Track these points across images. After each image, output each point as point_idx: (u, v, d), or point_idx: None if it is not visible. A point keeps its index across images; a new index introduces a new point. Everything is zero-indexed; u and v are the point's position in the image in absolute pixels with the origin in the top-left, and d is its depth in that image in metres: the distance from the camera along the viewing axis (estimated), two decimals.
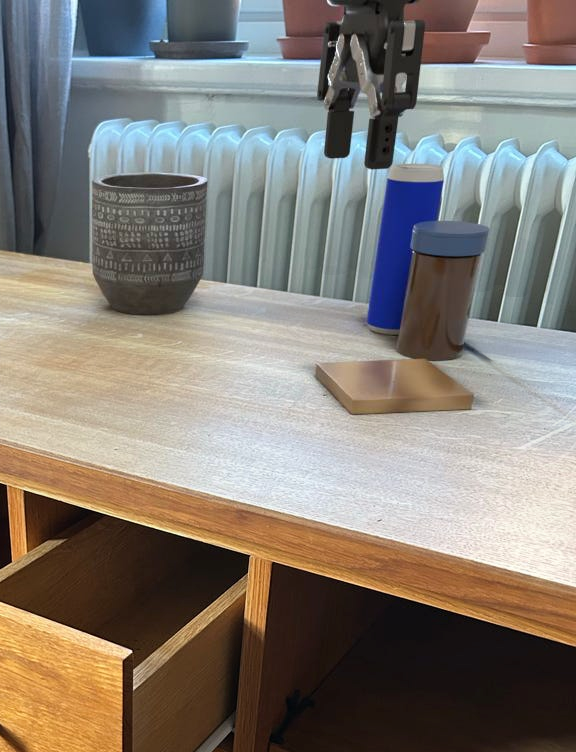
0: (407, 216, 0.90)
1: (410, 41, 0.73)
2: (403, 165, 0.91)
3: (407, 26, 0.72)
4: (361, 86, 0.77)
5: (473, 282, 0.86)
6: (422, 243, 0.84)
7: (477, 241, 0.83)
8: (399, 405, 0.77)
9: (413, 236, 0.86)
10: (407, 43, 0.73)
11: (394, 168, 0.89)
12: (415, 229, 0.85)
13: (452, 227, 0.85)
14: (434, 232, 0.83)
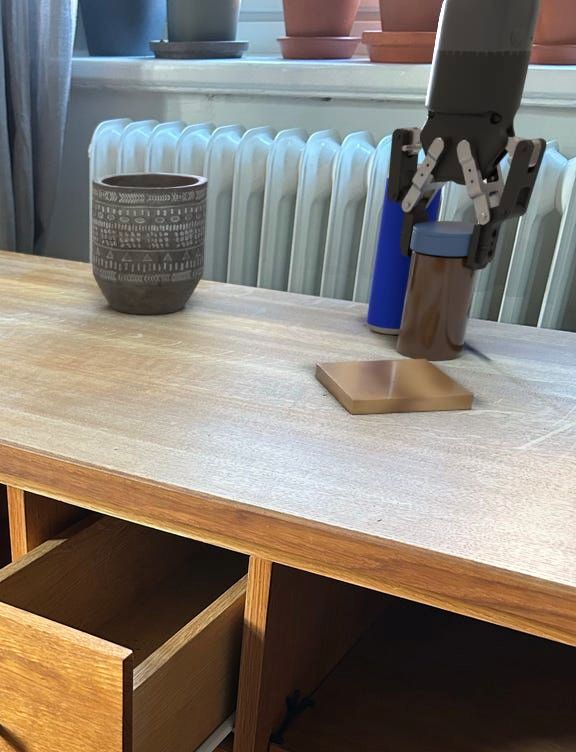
0: None
1: (535, 159, 0.77)
2: None
3: (536, 146, 0.76)
4: (470, 192, 0.81)
5: (473, 282, 0.86)
6: (421, 243, 0.84)
7: None
8: (399, 405, 0.77)
9: (413, 236, 0.86)
10: (532, 161, 0.77)
11: None
12: (414, 229, 0.85)
13: (452, 227, 0.85)
14: (433, 232, 0.83)
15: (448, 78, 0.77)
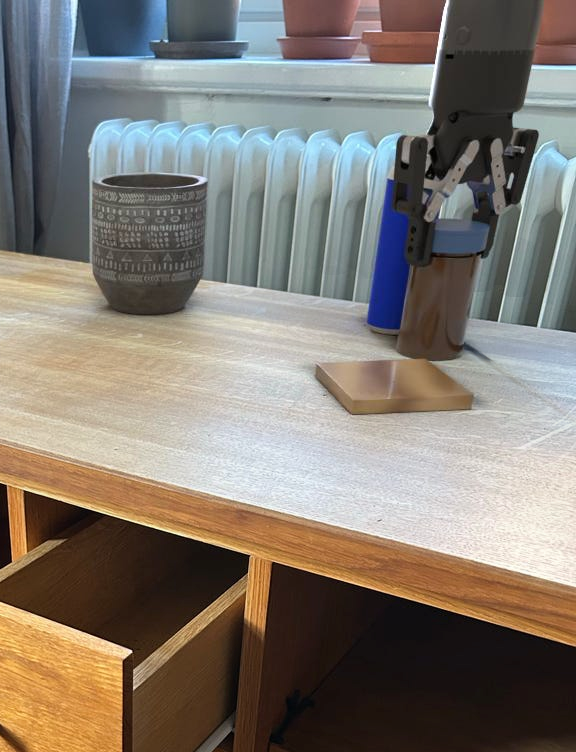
0: None
1: None
2: None
3: None
4: (497, 186, 0.83)
5: (473, 282, 0.86)
6: (470, 243, 0.83)
7: None
8: (399, 405, 0.77)
9: (452, 240, 0.83)
10: None
11: None
12: (456, 232, 0.82)
13: (454, 224, 0.85)
14: (481, 230, 0.83)
15: (515, 78, 0.76)
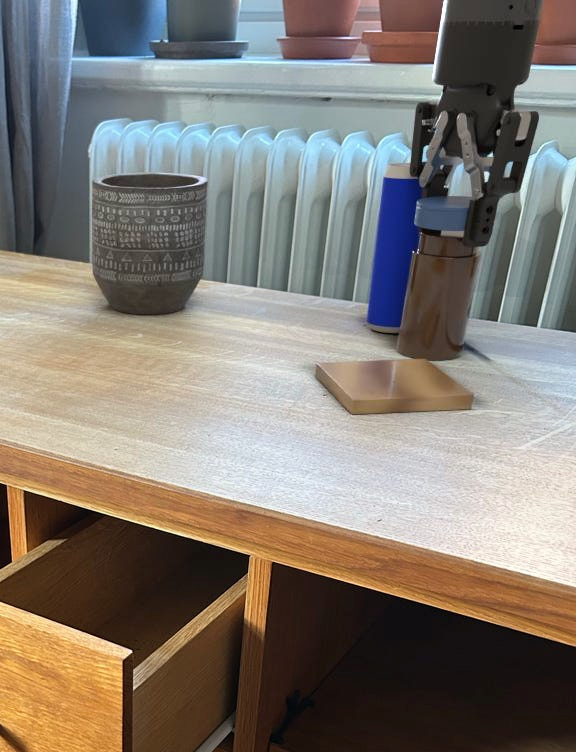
0: (404, 213, 0.90)
1: None
2: (399, 164, 0.91)
3: None
4: None
5: (473, 282, 0.86)
6: None
7: None
8: (399, 405, 0.77)
9: None
10: None
11: (390, 166, 0.90)
12: None
13: (455, 201, 0.84)
14: None
15: None
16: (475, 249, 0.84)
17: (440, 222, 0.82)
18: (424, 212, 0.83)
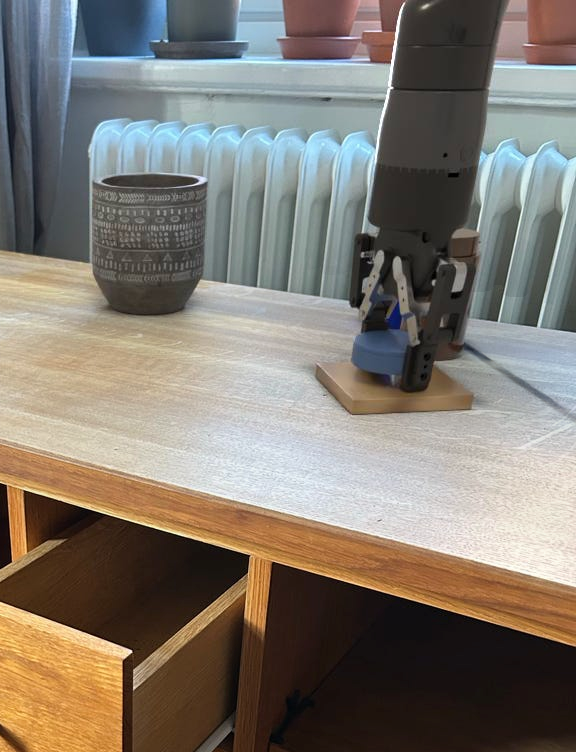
0: None
1: None
2: None
3: None
4: None
5: (473, 282, 0.86)
6: None
7: None
8: (399, 405, 0.77)
9: None
10: None
11: None
12: None
13: (394, 339, 0.79)
14: None
15: None
16: (475, 249, 0.84)
17: (376, 364, 0.77)
18: (360, 353, 0.78)
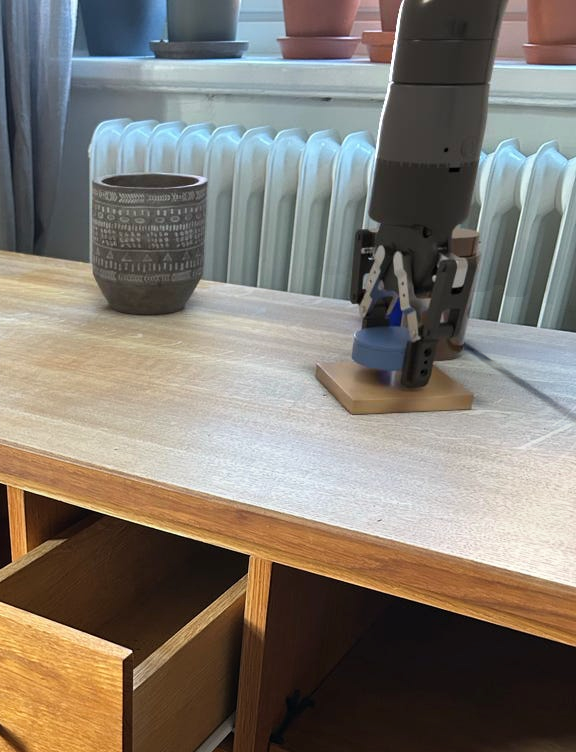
0: None
1: None
2: None
3: None
4: None
5: (473, 282, 0.86)
6: None
7: None
8: (399, 405, 0.77)
9: None
10: None
11: None
12: None
13: (394, 335, 0.79)
14: None
15: None
16: (475, 249, 0.84)
17: (376, 360, 0.77)
18: (360, 349, 0.78)
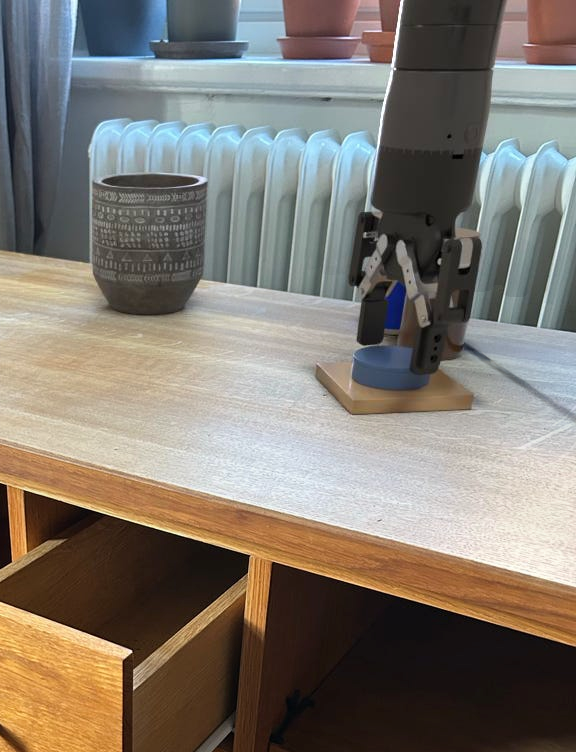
0: None
1: None
2: None
3: None
4: None
5: None
6: None
7: None
8: (399, 405, 0.77)
9: None
10: None
11: None
12: None
13: (393, 355, 0.80)
14: None
15: None
16: None
17: (375, 380, 0.78)
18: (360, 368, 0.79)
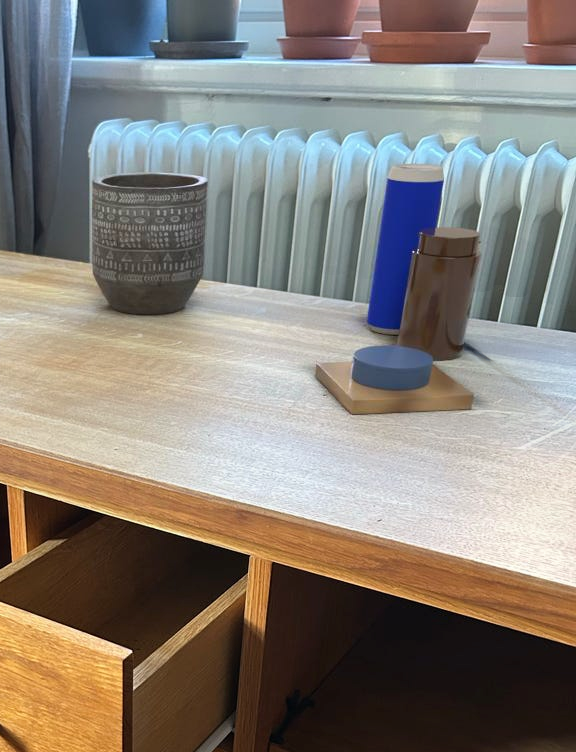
0: (407, 216, 0.89)
1: None
2: (403, 165, 0.91)
3: None
4: None
5: (473, 282, 0.86)
6: None
7: None
8: (399, 405, 0.77)
9: (431, 370, 0.79)
10: None
11: (394, 168, 0.89)
12: None
13: (393, 355, 0.80)
14: (422, 352, 0.81)
15: None
16: (475, 249, 0.84)
17: (375, 380, 0.78)
18: (360, 368, 0.79)
